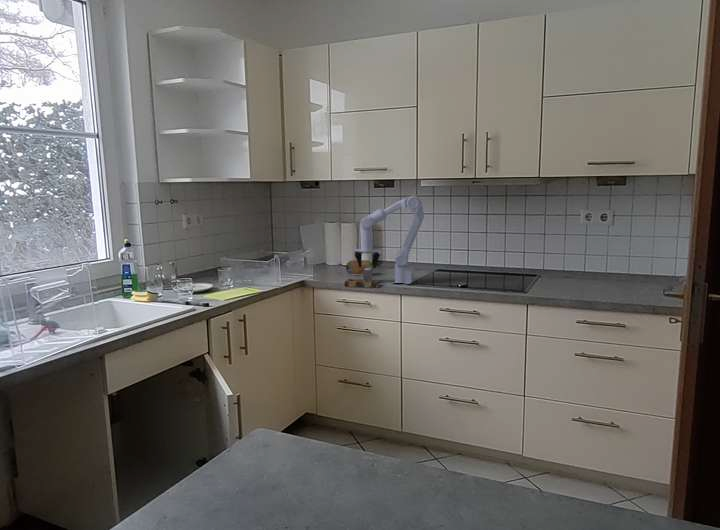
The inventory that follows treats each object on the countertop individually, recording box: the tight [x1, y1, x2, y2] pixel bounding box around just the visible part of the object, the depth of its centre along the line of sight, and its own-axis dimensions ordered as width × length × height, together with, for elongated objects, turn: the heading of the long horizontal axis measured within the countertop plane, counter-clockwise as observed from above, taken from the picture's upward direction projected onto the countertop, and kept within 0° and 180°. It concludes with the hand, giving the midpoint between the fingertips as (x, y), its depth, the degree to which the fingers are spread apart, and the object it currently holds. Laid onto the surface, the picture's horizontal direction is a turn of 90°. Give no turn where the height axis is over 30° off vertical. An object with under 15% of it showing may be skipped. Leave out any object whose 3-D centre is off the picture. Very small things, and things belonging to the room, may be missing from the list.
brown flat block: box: [344, 278, 380, 289], centre depth 257 cm, size 16×7×3 cm, turn 73°
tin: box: [345, 259, 374, 275], centre depth 284 cm, size 15×3×8 cm, turn 76°
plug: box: [362, 268, 373, 280], centre depth 263 cm, size 4×4×8 cm
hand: (367, 267), depth 262 cm, fingers open, 7 cm apart
